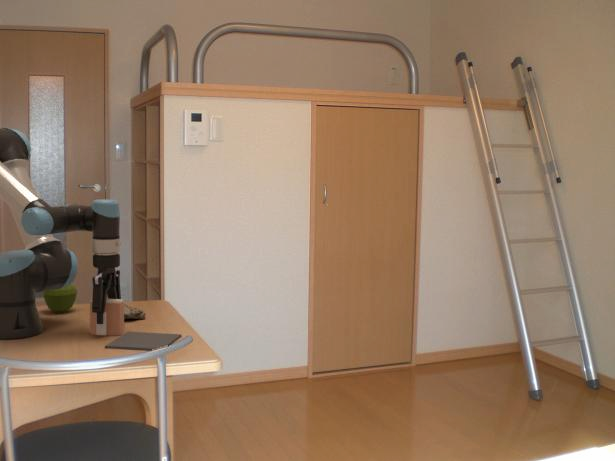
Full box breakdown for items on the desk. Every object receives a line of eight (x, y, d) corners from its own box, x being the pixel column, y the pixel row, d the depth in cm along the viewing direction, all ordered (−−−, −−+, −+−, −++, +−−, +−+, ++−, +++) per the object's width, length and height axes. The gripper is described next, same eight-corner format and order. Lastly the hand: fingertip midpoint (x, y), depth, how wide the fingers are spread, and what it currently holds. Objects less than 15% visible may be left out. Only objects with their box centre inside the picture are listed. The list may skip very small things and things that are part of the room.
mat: (104, 347, 186) (104, 345, 186) (128, 333, 202) (128, 331, 202) (162, 351, 184) (162, 349, 184) (181, 336, 200) (181, 334, 200)
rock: (145, 322, 217) (145, 308, 217) (108, 323, 215) (108, 309, 214) (145, 315, 227) (145, 302, 227) (110, 316, 225) (110, 303, 224)
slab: (90, 334, 201) (89, 300, 200) (94, 331, 204) (94, 298, 203) (120, 335, 200) (119, 301, 199) (124, 333, 203) (123, 299, 202)
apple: (67, 316, 223) (66, 285, 222) (36, 314, 225) (36, 284, 224) (83, 309, 234) (82, 279, 233) (54, 307, 235) (53, 278, 234)
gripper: (103, 258, 189) (104, 340, 191) (132, 249, 209) (133, 324, 211) (77, 257, 190) (79, 339, 192) (108, 248, 210) (109, 322, 212)
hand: (107, 331), depth 202 cm, fingers open, 7 cm apart
